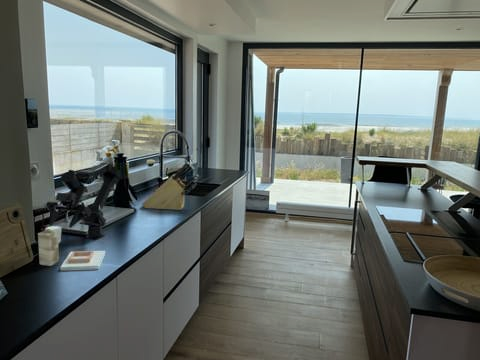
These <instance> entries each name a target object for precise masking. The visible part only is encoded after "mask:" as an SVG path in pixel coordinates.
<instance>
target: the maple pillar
mask: <svg viewBox="0 0 480 360" xmlns="http://www.w3.org/2000/svg"><path fill="white" fill-rule="evenodd" d="M37 238H38V239H37V241H38V242H37V243H38V244H37V245H38V258H39V259H38V260H39V265H41V266H49V267H51V266H53V265H55V264H57V263H58V262H59V261H60V254H59V243H58V231H53V230H51V229H45V228H44V230H43V231H41V232H38V233H37Z"/></svg>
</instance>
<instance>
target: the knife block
mask: <svg viewBox="0 0 480 360" xmlns="http://www.w3.org/2000/svg"><path fill="white" fill-rule="evenodd" d="M193 170H195V166H193V165H192V164H190V162H189V161H187V162H186V163H185V164H184V165H182V166H181V167H180V168H179V169H178V170H177V171H176V172H175V173H173V174H172V175H171V176H170V177H169V178H168V179H167V180H165V182H163V184H161V185H160V186H159V187H158V188H157V189H156V190H155V191H154V192H153V193H152V194H151V195H150V196H148V197H147V198H146V199H144V201H143V202H142V203H141V206H143V207H144V208H146V209H158V210H176V211H181V210H182V209H183V208H184V207H185V196H186V195H187V194H188V193H190V192H191V190H193V189H195V188H196V186H197V185H198V183H197V182H195V181H196V180H197V179H198V177H199V174H196V175H192V176H190V177H189V178H188V179H186V181H185V182H182V181H183V180H184V179H185V178H186V177H188V175H189V174H190V173H192V172H193ZM193 182H194V183H193Z"/></svg>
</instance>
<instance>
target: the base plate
mask: <svg viewBox="0 0 480 360" xmlns="http://www.w3.org/2000/svg"><path fill="white" fill-rule="evenodd" d="M105 255H106V250H85V251H82V250H80V251H79V250H78V251H70V252H69V254H68V255H67V257H66V258H65V260H64V261H63V262H62V264H61V265H60V271H61V272H64V271H88V270H90V271H91V270H99V269H100V266H101V264H102V262H103V260H104V257H105Z"/></svg>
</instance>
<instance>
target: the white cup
mask: <svg viewBox="0 0 480 360" xmlns="http://www.w3.org/2000/svg"><path fill="white" fill-rule="evenodd" d="M45 229H51V230H53V231H58V244H60V243H61V241H62V239H61V238H62V227H61V226H60V225H51V226H50V225H49V226H47V227H45V228H44V230H45Z"/></svg>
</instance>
